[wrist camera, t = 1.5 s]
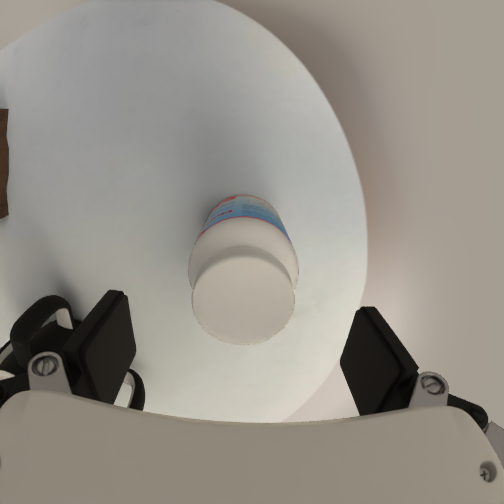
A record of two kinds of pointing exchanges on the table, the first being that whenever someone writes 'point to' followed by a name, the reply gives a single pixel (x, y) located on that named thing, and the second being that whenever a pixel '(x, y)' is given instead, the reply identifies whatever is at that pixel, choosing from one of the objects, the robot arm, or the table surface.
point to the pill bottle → (243, 272)
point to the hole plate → (3, 163)
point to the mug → (50, 342)
